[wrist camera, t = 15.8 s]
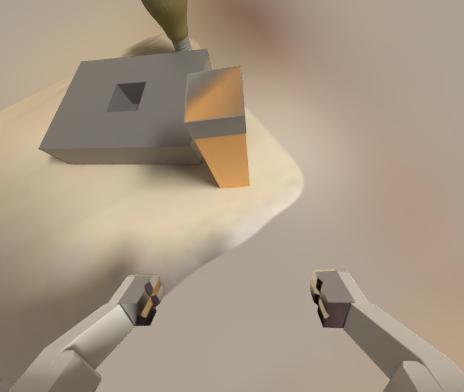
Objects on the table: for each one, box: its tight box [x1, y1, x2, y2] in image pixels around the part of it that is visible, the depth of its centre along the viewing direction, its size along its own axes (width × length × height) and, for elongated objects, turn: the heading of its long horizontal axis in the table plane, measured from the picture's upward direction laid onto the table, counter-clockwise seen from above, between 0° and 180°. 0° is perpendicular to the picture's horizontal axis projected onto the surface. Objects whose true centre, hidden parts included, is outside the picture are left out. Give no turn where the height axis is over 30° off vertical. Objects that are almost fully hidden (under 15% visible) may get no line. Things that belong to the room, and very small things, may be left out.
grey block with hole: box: [39, 49, 212, 164], centre depth 22 cm, size 18×14×4 cm
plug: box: [184, 66, 250, 188], centre depth 14 cm, size 3×4×10 cm
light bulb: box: [141, 0, 192, 52], centre depth 22 cm, size 6×6×10 cm
